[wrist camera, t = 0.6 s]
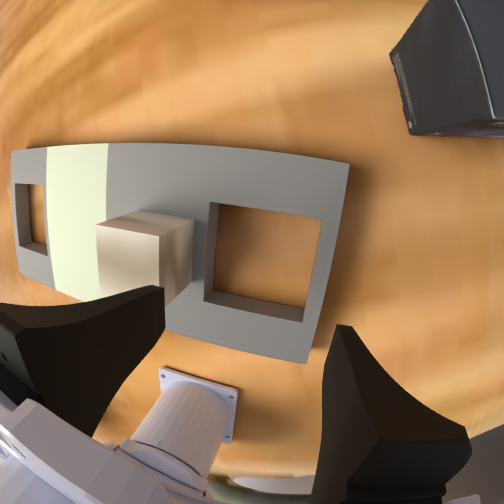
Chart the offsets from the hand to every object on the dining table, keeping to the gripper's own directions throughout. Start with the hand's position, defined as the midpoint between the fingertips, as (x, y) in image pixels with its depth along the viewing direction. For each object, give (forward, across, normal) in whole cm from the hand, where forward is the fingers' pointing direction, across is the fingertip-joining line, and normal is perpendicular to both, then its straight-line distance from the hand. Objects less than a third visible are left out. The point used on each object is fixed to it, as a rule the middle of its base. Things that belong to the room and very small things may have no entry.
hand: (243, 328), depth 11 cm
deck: (+9, +12, 0) cm, 16 cm away
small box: (+10, -12, -14) cm, 20 cm away
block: (+7, +8, 0) cm, 11 cm away
